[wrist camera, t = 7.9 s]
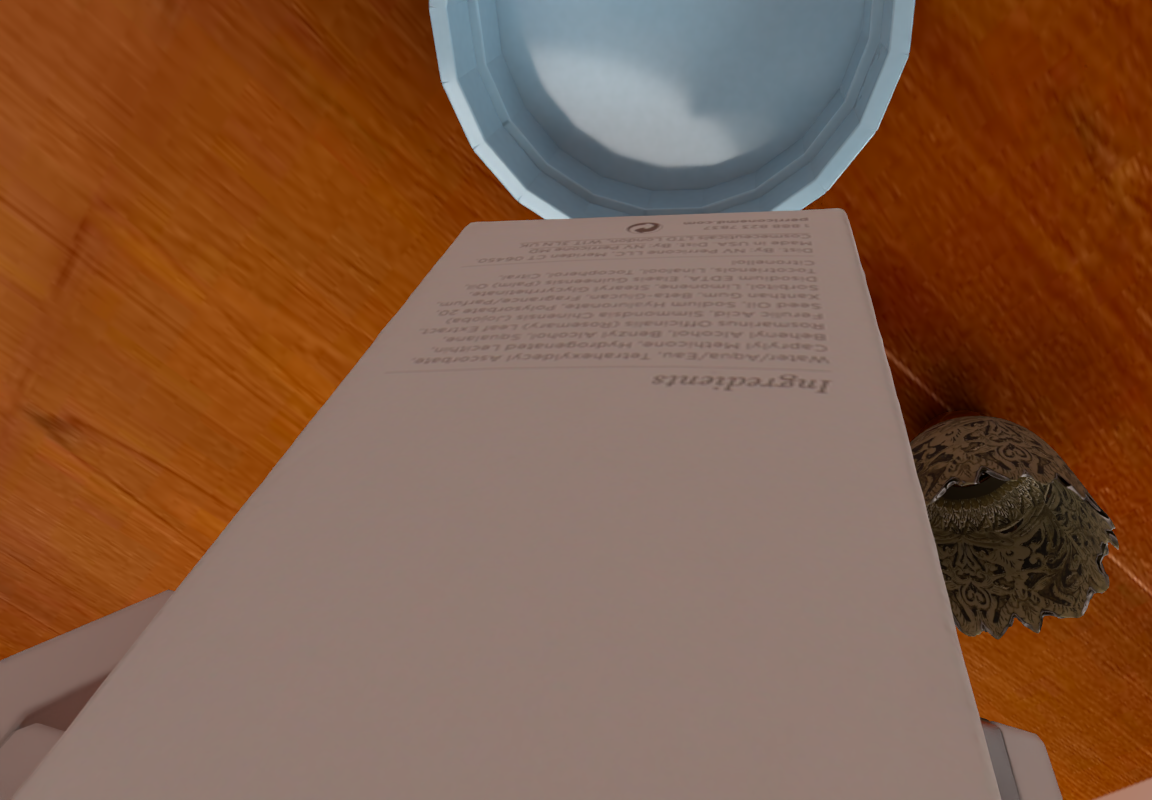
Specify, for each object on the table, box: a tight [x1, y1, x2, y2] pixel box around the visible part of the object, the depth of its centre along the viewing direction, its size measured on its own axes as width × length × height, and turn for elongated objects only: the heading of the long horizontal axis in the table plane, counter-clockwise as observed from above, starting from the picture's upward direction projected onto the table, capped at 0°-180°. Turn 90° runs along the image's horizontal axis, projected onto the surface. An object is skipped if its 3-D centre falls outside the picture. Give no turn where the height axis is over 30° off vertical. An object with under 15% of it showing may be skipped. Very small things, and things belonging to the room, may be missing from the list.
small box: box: [10, 208, 1001, 800], centre depth 10 cm, size 8×6×10 cm
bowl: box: [429, 0, 915, 220], centre depth 27 cm, size 14×14×5 cm
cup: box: [910, 410, 1119, 639], centre depth 33 cm, size 8×7×8 cm
